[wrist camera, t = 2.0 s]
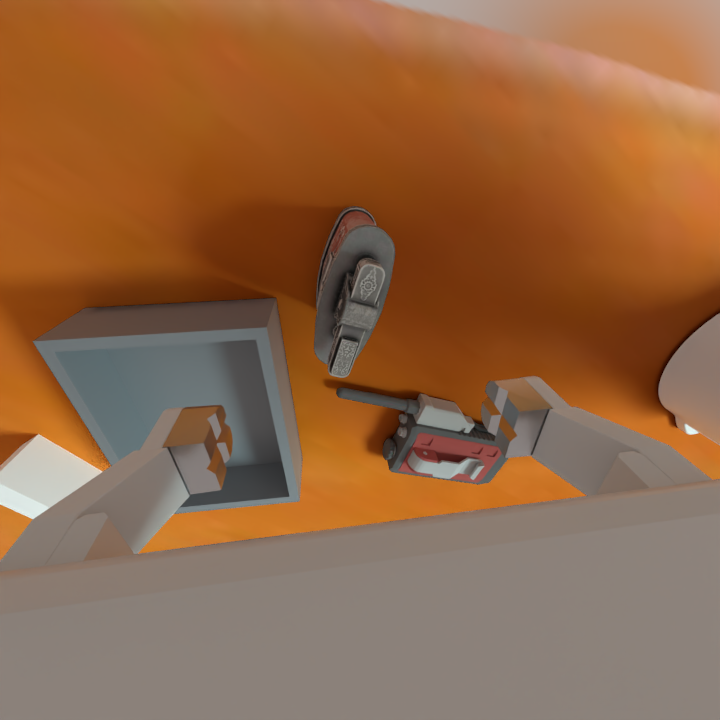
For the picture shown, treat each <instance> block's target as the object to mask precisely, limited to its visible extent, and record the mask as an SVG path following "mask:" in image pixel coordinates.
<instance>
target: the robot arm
mask: <svg viewBox="0 0 720 720" xmlns="http://www.w3.org/2000/svg"><path fill="white" fill-rule="evenodd" d="M485 392H486V394H487V395H488V397H487V398H486V399H485V401H484V402H483V403H482V408H481V416H482V421H483V424H484V426H485V428H486V429H487V431H488V432H490V433H492V434H493V435H495V436H496V437H495V441H494V442H495V443H496V445H497V446H498V448H499V449H500V451H501V452H502V454H503V455H504V457H505V458H510V457H521V456H532V457H533V458H534V459H536V460H537V461H538V462H540V463H541V464H543V465H544V466H546V467H547V468H548V469H550V470H551V471H553V472H554V473H556V474H557V475H558V476H560V477H561V478H563V479H564V480H566V481H567V482H568V483H570V484H571V485H573V486H574V487H576V488H577V489H578V490H580V491H581V492H583V493H584V494H586V495H587V496H584V497H576V498H568V499H560V500H552V501H545V502H537V503H529V504H521V505H513V506H506V507H498V508H490V509H482V510H475V511H467V512H459V513H451V514H444V515H436V516H428V517H420V518H413V519H405V520H397V521H389V522H381V523H374V524H366V525H358V526H350V527H343V528H335V529H327V530H319V531H312V532H304V533H296V534H288V535H280V536H273V537H265V538H257V539H249V540H242V541H234V542H226V543H218V544H211V545H203V546H195V547H187V548H180V549H172V550H164V551H156V552H149V553H141V554H138V553H139V551H140V550H141V549H142V548H143V547H144V546H145V545H146V544H147V543H148V542H149V540H150V539H151V538H152V537H153V536H154V535H155V534H156V533H157V532H158V531H159V529H160V528H161V527H162V526H163V525H164V524H165V523H166V522H167V521H168V519H169V518H170V517H171V516H172V515H173V514H174V513H175V512H176V511H177V510H178V508H179V507H180V506H181V505H182V504H183V503H184V502H185V501H186V500H187V499H188V497H189V495H190V494H197V493H204V492H211V491H218V490H221V489H222V486H223V482H224V479H225V475H226V472H227V470H226V467H225V463H226V462H227V461H228V460H229V459H230V457H231V453H232V445H233V439H232V432H231V429H230V426H228V425H227V424H225V423H224V421H225V418H226V413H225V410H224V407H223V406H222V405H208V406H194V407H185V408H184V407H181V408H169V409H166V410H164V411H163V412H162V414H161V416H160V417H159V419H158V421H157V422H156V424H155V426H154V427H153V429H152V431H151V432H150V434H149V435H148V437H147V439H146V440H145V442H144V444H143V445H142V447H141V449H140V450H137V451H133V452H131V453H130V454H128V455H127V456H125V457H124V458H122V459H121V460H119V461H118V462H117V463H115V464H114V465H112V466H111V467H109V468H108V469H106V470H105V471H103V472H102V473H100V474H99V475H97V476H96V477H94V478H93V479H91V480H90V481H89V482H87V483H86V484H84V485H83V486H81V487H80V488H78V489H77V490H75V491H74V492H72V493H71V494H69V495H68V496H66V497H65V498H63V499H62V500H61V501H59V502H58V503H56V504H55V505H53V506H52V507H50V508H49V509H47V510H46V511H44V512H43V513H41V514H40V515H38V516H37V517H35V518H34V519H33V520H32V521H31V523H30V524H29V525H28V526H27V528H26V529H25V530H24V532H23V533H22V534H21V535H20V537H19V538H18V539H17V540H16V542H15V543H14V544H13V546H12V547H11V548H10V549H9V551H8V552H7V553H6V554H5V556H4V557H3V558H2V560H1V561H0V720H720V479H716V480H712V479H711V478H709V477H708V476H707V475H706V474H704V473H703V472H702V471H701V470H699V469H698V468H697V467H696V466H694V465H693V464H692V463H691V462H689V461H688V460H687V459H686V458H684V457H683V456H682V455H681V454H679V453H678V452H677V451H676V450H674V449H673V448H672V447H671V446H669V445H667V444H664V443H662V442H659V441H657V440H655V439H652V438H650V437H647V436H645V435H643V434H640V433H638V432H635V431H633V430H631V429H628V428H626V427H623V426H621V425H619V424H616V423H614V422H611V421H609V420H607V419H604V418H602V417H599V416H597V415H595V414H592V413H590V412H587V411H585V410H583V409H580V408H578V407H570V406H569V405H568V404H567V403H566V402H565V401H564V400H563V399H562V398H561V397H560V396H559V395H558V394H557V393H556V392H555V391H553V390H552V389H551V388H550V387H549V386H548V385H547V384H546V383H545V382H544V381H543V380H542V379H541V378H539V377H537V376H529V377H520V378H516V379H505V380H494V381H489V382H488V384H487V385H486V389H485ZM658 393H659V399H660V401H661V403H662V405H663V406H664V407H665V408H666V409H667V410H669V411H670V412H671V413H673V414H674V415H675V419H676V425H677V427H678V428H679V429H680V430H682V431H684V432H685V433H687V434H697V433H701V434H702V435H704V436H706V437H707V438H709V439H710V440H712V441H714V442H715V443H717V444H718V445H720V313H719V314H717V315H716V316H715V317H713V318H712V319H710V320H709V321H708V322H706V323H705V324H704V325H702V326H701V327H700V328H699V329H698V330H697V331H695V332H694V333H693V334H692V335H691V336H690V337H689V338H688V339H687V340H686V341H685V342H684V343H683V344H682V345H681V346H680V348H679V349H678V350H677V351H676V353H675V354H674V355H673V356H672V358H671V359H670V361H669V363H668V364H667V366H666V368H665V370H664V372H663V374H662V376H661V379H660V383H659V389H658Z"/></svg>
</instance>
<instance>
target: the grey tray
mask: <svg viewBox="0 0 720 720" xmlns="http://www.w3.org/2000/svg"><path fill="white" fill-rule="evenodd" d="M33 343H34V344H35V346H36V348H37V349H38V351H39V352H40V354H41V355H42V357H43V359H44V360H45V362H46V363H47V365H48V367H49V368H50V370H51V371H52V373H53V374H54V376H55V378H56V379H57V381H58V382H59V384H60V385H61V387H62V389H63V390H64V392H65V393H66V395H67V397H68V398H69V400H70V401H71V403H72V404H73V406H74V408H75V409H76V411H77V412H78V414H79V415H80V417H81V419H82V420H83V422H84V423H85V425H86V427H87V428H88V430H89V431H90V433H91V434H92V436H93V438H94V439H95V441H96V442H97V444H98V445H99V447H100V449H101V450H102V452H103V453H104V455H105V457H106V458H107V460H108V461H109V463H110V464H111V466H112V465H114V464H115V463H117V462H118V461H119V460H121V459H122V458H124V457H125V456H127V455H128V454H130V453H131V452H133V451H137V450H140V449H141V447H142V445H143V444H144V442H145V440H146V439H147V437H148V435H149V434H150V432H151V431H152V429H153V427H154V426H155V424H156V422H157V421H158V419H159V417H160V416H161V414H162V412H163V411H164V410H166V409H169V408H181V407H184V408H185V407H194V406H208V405H222V406H223V407H224V410H225V413H226V418H225V421H224V423H225V424H227V425H228V426H230V429H231V432H232V439H233V445H232V453H231V457H230V459H229V460H228V461H227V462H226V463H225V467H226V470H227V472H226V475H225V479H224V482H223V486H222V489H221V490H218V491H211V492H204V493H197V494H190V495H189V497H188V499H187V500H186V501H185V502H184V503H183V504H182V505H181V506H180V507H179V508H178V510H177V511H176V512H175V513H174V514H177V513H187V512H197V511H207V510H217V509H227V508H237V507H248V506H258V505H268V504H278V503H288V502H298V501H300V489H301V473H302V452H301V446H300V440H299V434H298V428H297V422H296V416H295V410H294V404H293V398H292V391H291V385H290V379H289V373H288V367H287V361H286V355H285V349H284V343H283V337H282V331H281V324H280V318H279V312H278V306H277V300H276V298H263V299H244V300H225V301H207V302H188V303H169V304H150V305H131V306H113V307H94V308H84V309H82V310H81V311H79V312H78V313H76V314H74V315H73V316H71V317H70V318H68V319H67V320H65V321H64V322H62V323H60V324H59V325H57V326H56V327H54V328H53V329H51V330H49V331H48V332H46V333H45V334H43V335H42V336H40V337H39V338H37V339H35V340H34V341H33Z"/></svg>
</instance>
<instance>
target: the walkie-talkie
mask: <svg viewBox="0 0 720 720" xmlns="http://www.w3.org/2000/svg"><path fill="white" fill-rule="evenodd" d="M336 394H337V396H338V397H340V398H343V399H348V400H353V401H358V402H363V403H368V404H373V405H378V406H383V407H388V408H393V409H398V410H403V411H404V412H406V413H405V414H400V415H399V420H400V421H399V422H401V423H400V425H399V427H398V429H397V431H396V433H395V435H394V437H393V439H387V440H386V441H385V442H384V446H383V457H384V459H385V460H387V461H388V465H389V470H390V471H392V472H395V473H402V474H409V475H416V476H423V477H429V478H430V477H432V478H438V479H443V480H444V479H446V480H451V481H459V482H464V483H473V484H477V485H478V484H483V483H489V482H490V481H491V480H492V478H493V477H494V476H495V475H496V473H497V472H498V471H499V470H500V468H501V467H502V466H503V464H504V463H505V462H506V461H507V459H508V458H505V457H504V455H503V454H502V452H501V451H500V449H499V448H498V446H497V445H496V443H495V442H494V441H495V437H496V436H495V435H493V434H492V433H490V432H488V431H487V429H486V428H485V426H484V425H482V424H478V423H476V422H475V421H473V420H472V418H471V417H469V416H464V415H463V413H462V412H461V410H460V409H459V407H458V406H457V405H456V403H455V402H451V401H446V400H442V399H437V398H433V397H428V396H427V395H425V394H419V396H418V398H417V400H412V399H406V400H405V399H400V398H395V397H391V396H386V395H381V394H377V393H372V392H363V391H358V390H353V389H348V388H343V387H341V388H338V389H337V391H336Z"/></svg>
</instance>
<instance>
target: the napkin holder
mask: <svg viewBox="0 0 720 720" xmlns="http://www.w3.org/2000/svg"><path fill="white" fill-rule="evenodd" d="M100 473H102V471H101V470H99V469H97V468H96V467H94V466H92V465H90V464H89V463H87V462H85V461H84V460H82V459H80V458H78V457H77V456H75V455H73V454H72V453H70V452H68V451H67V450H65V449H63V448H61V447H60V446H58V445H56V444H55V443H53V442H51V441H49V440H48V439H46V438H44V437H43V436H41V435H39V434H38V435H36V436H35V437H33V438H32V439H30V440H29V441H27V442H26V443H24V444H23V445H21V446H20V447H19V448H18V449H17V450H16V451H15V452H14V453H13V454H12V455H11V456H10V457H9V458H8V459H7V460H6V461H5V462H4V463H3V464H1V465H0V504H1V505H3V506H5V507H7V508H10V509H12V510H14V511H16V512H18V513H21V514H23V515H25V516H27V517H29V518H32V519H34V518H35V517H37V516H38V515H40V514H41V513H43V512H44V511H46V510H47V509H49V508H50V507H52V506H53V505H55V504H56V503H58V502H59V501H61V500H62V499H63V498H65V497H66V496H68V495H69V494H71V493H72V492H74V491H75V490H77V489H78V488H80V487H81V486H83V485H84V484H86V483H87V482H89V481H90V480H91V479H93V478H94V477H96V476H97V475H99V474H100Z"/></svg>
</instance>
